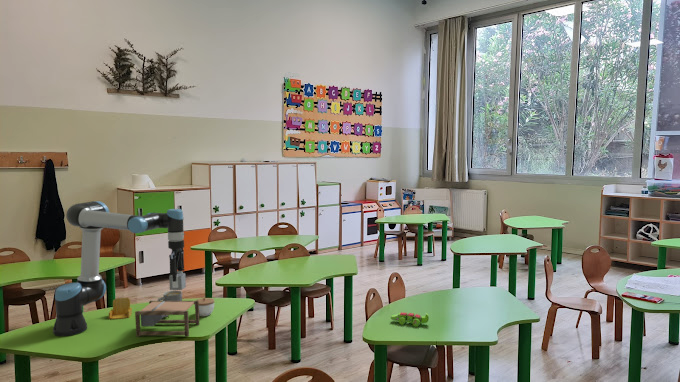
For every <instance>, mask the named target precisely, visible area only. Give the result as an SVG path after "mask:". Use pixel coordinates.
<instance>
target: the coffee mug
mask: <svg viewBox="0 0 680 382" xmlns="http://www.w3.org/2000/svg"><path fill="white" fill-rule="evenodd" d="M182 293H183V292H182V290H169V291H165V292H164V293H163V296H160V297H159V298H157V300H156V301H183V294H182Z"/></svg>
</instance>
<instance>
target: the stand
mask: <svg viewBox="0 0 680 382" xmlns="http://www.w3.org/2000/svg"><path fill="white" fill-rule="evenodd" d="M151 302H163V300H160V301H157V300H150V301H148V303H149V304H150V303H151ZM164 302H194V304H193V305H194V311H195V314H194V315H195V316H194V318H195V319H189V310H187V311H141V310H136V311H134V318H135V319H134V320H135V335H136V336H135V337H136V338H140V337H141V336H184V337H185V338H188V337H189V336H190V328H189V327H190V326H189V325H190V324H195V325H196V326H199V325H200V316H199V301H195V300H182V301H164ZM149 304H148V305H149ZM141 315H169V316H183V319H161V320H160V321H159V322H157V323H156V324H160V325H161V324H169V325H170V324H178V325H179V324H184V330H183V331H182V330H169V331H168V330H166V331H165V330H157V331H156V330H155V331H153V330H152V331H151V330H145V331H143V330H141ZM156 324H155V325H156Z"/></svg>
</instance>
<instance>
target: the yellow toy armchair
mask: <svg viewBox="0 0 680 382" xmlns="http://www.w3.org/2000/svg"><path fill="white" fill-rule="evenodd" d="M132 309H133V308H132V307H131V299H130V298H129V297H122V298H121V297H120V298H114V299H113V300H112V309H110V311H109V312H108V320H124V319H125V320H126V319H129V318H130V317H131V315H132V313H133V311H132Z"/></svg>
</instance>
